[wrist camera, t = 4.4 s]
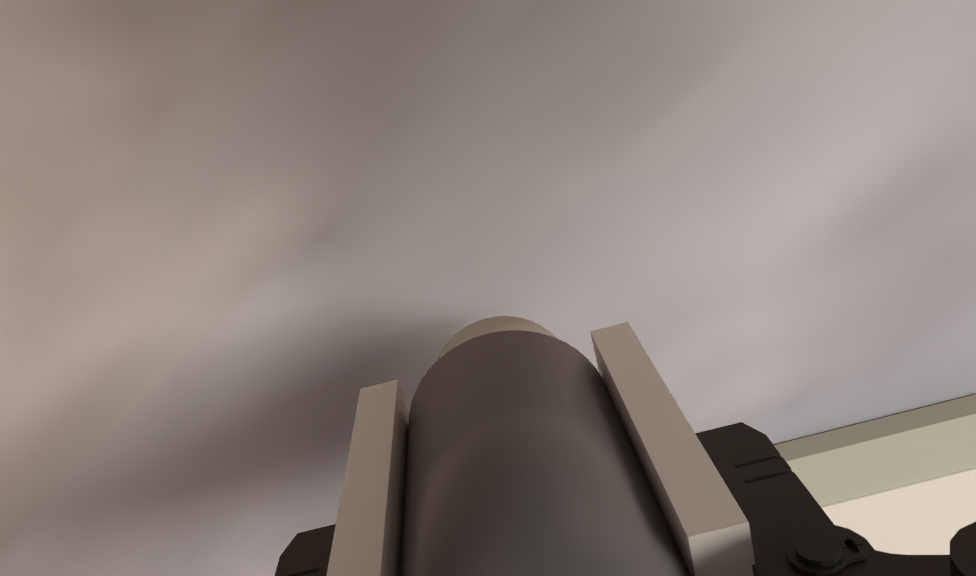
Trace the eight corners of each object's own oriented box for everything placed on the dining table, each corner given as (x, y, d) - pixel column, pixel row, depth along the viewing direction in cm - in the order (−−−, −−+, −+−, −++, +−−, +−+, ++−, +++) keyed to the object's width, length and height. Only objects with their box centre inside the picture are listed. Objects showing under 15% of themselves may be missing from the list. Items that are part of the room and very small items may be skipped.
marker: (385, 317, 17) (302, 911, 6) (575, 271, 17) (845, 786, 6) (435, 480, 19) (441, 1210, 7) (610, 437, 19) (884, 1109, 7)
